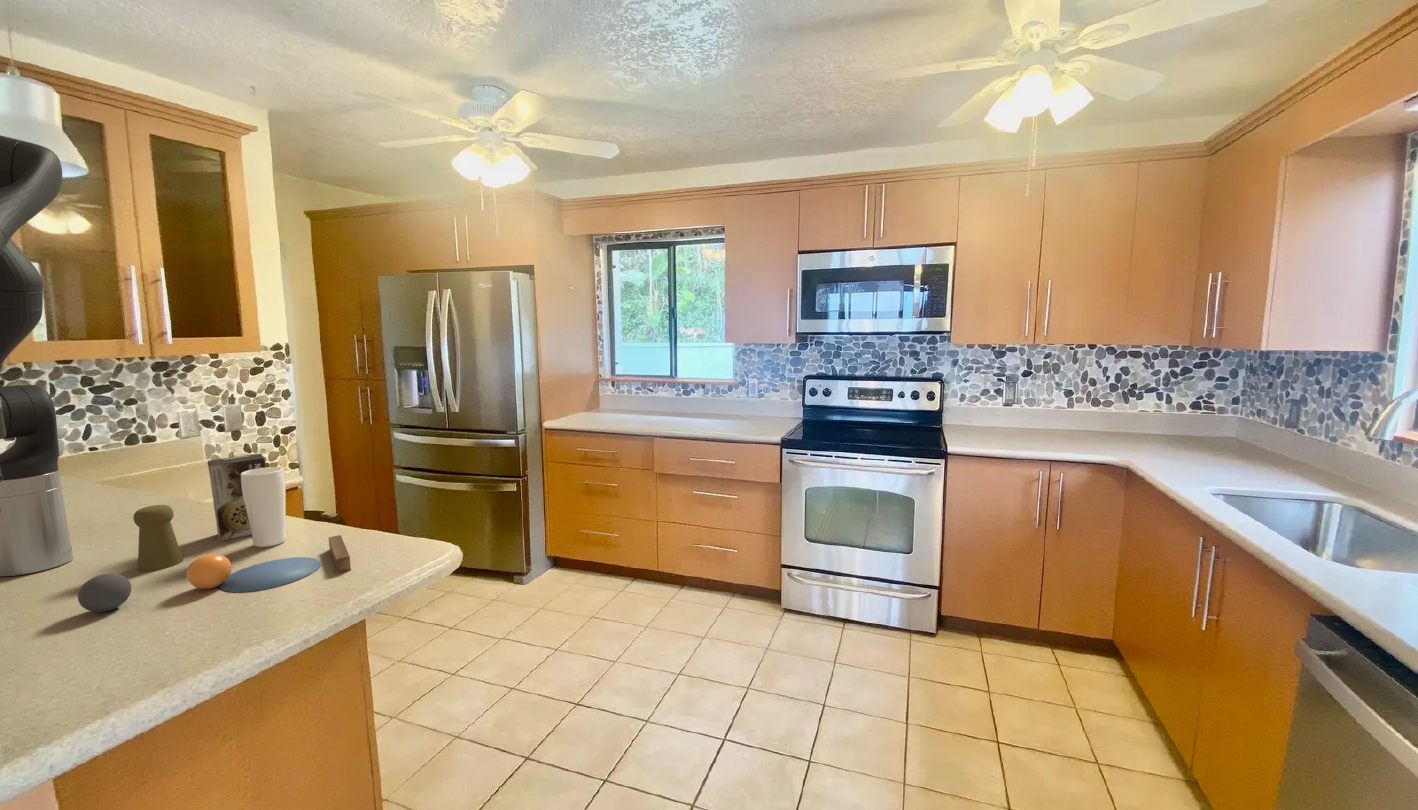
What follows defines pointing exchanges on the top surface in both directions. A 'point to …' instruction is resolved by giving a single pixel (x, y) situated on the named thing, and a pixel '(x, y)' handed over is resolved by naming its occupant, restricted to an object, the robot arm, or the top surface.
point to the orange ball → (209, 571)
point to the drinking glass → (265, 505)
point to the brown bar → (339, 554)
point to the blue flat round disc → (270, 574)
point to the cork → (156, 538)
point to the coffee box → (231, 493)
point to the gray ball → (104, 592)
